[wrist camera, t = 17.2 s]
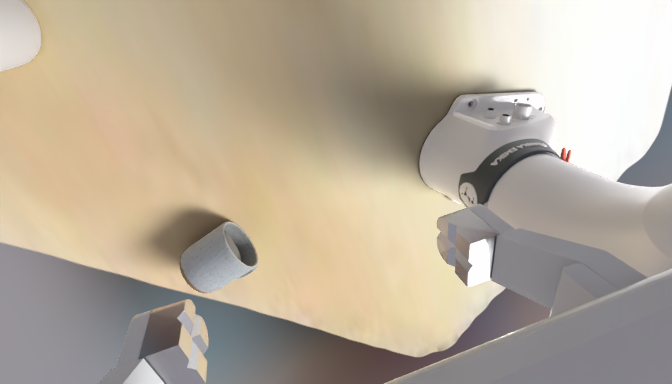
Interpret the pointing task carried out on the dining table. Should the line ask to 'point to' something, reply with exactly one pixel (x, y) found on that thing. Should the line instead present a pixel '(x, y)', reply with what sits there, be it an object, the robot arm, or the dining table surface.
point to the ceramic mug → (218, 258)
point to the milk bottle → (17, 34)
